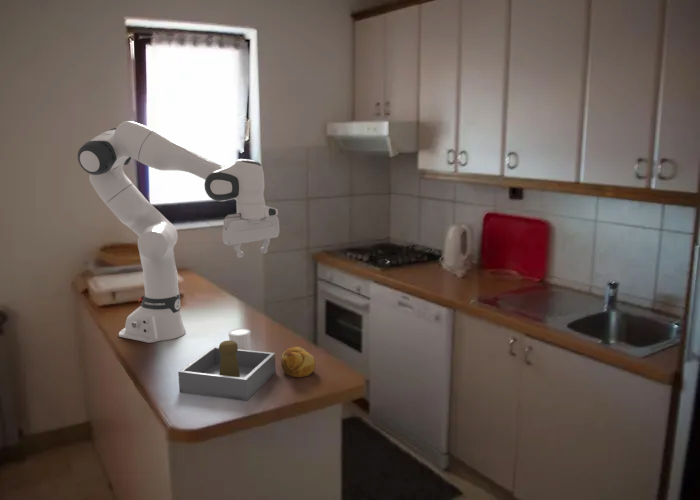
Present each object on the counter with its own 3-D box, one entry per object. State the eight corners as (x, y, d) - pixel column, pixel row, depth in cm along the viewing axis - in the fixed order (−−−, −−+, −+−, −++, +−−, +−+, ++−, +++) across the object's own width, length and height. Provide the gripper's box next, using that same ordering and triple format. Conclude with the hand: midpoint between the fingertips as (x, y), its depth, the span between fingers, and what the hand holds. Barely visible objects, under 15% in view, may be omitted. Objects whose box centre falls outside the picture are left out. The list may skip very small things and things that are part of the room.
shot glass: (241, 358, 195) (240, 336, 194) (224, 353, 199) (223, 332, 198) (255, 351, 201) (254, 330, 200) (239, 347, 205) (238, 326, 203)
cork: (234, 384, 174) (233, 346, 171) (215, 381, 175) (213, 344, 173) (244, 375, 179) (242, 339, 177) (224, 373, 181) (223, 337, 179)
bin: (179, 392, 171) (178, 371, 169) (214, 365, 190) (213, 346, 188) (246, 401, 165) (246, 379, 164) (275, 372, 184) (275, 353, 183)
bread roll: (277, 365, 190) (276, 340, 188) (308, 361, 193) (307, 337, 191) (286, 382, 178) (285, 355, 176) (319, 377, 181) (318, 351, 179)
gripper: (230, 216, 185) (231, 261, 188) (282, 209, 200) (282, 251, 203) (217, 214, 189) (219, 258, 192) (269, 207, 204) (270, 248, 207)
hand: (252, 255), depth 198 cm, fingers open, 8 cm apart
